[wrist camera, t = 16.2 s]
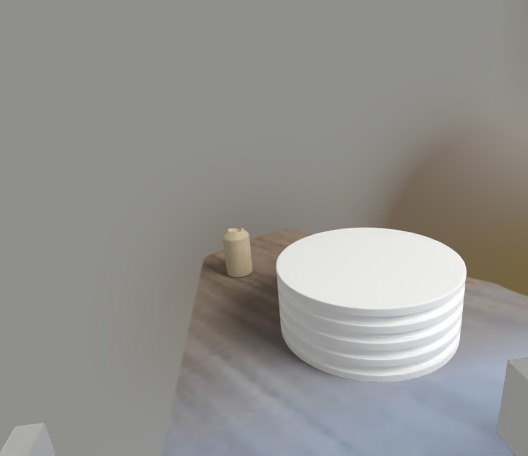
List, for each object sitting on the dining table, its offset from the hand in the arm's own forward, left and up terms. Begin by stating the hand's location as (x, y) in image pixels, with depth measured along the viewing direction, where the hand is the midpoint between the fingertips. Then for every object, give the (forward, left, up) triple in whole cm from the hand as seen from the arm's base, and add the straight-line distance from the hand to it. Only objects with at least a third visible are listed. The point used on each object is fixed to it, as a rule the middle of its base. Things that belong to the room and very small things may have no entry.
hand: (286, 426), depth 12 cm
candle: (-44, -55, -30) cm, 77 cm away
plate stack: (-44, -24, -30) cm, 59 cm away
